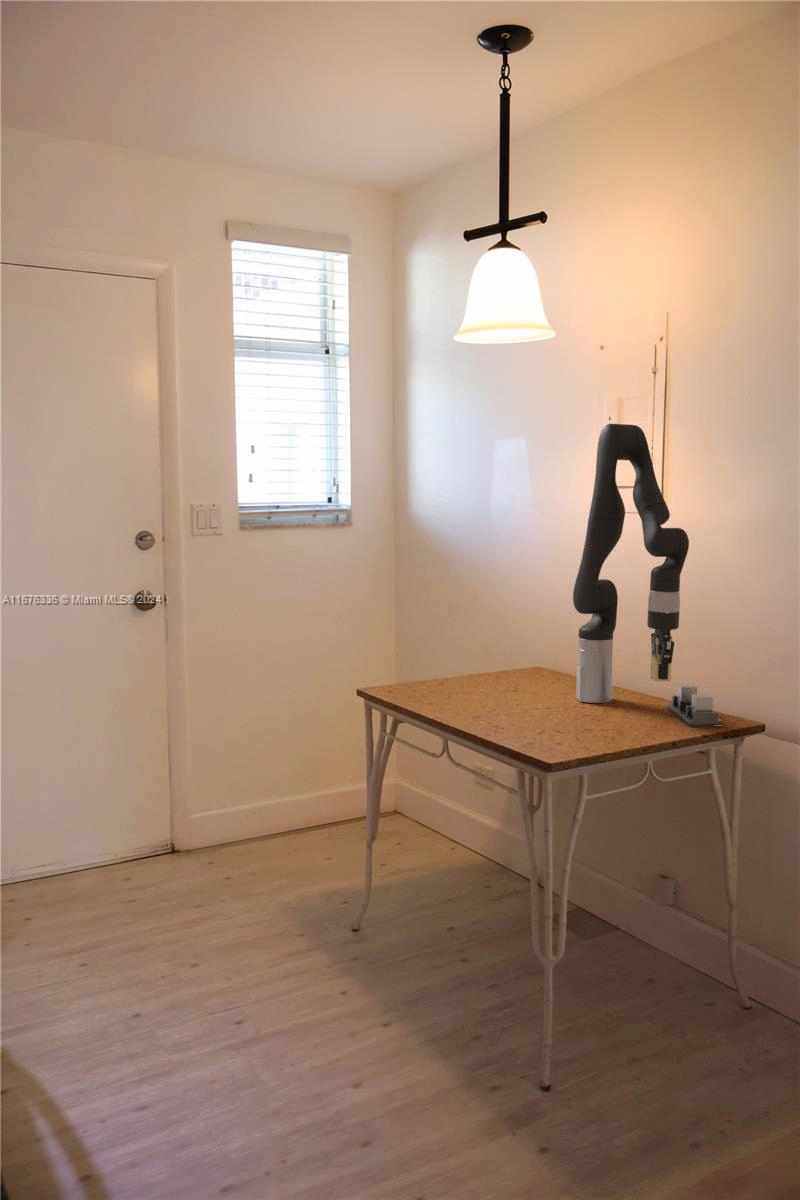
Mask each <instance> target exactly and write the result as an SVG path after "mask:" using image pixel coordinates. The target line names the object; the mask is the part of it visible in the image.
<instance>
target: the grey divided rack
mask: <svg viewBox="0 0 800 1200" xmlns="http://www.w3.org/2000/svg"><path fill="white" fill-rule="evenodd" d="M676 691H677V695H674V694H673V695H672V696H671V698H672V699H671V702H667V705H666V707H667V708H666V709H667V710H669V711H670V712H671V713H673V715H675V716H676V718H678V719H679V720H681V721H682V722H683V723H684V724H685V723H686V724H685V725H687V726H688V727H689V728H694V727H693V726H714V725H724V721H723V719H722V718H720V717H719V712H718V711H713V707H714V705H713V704H714V702H713V701H714V698H713V696H711V695H709V694H706V693H705V694H704V693H702V694H700V693H699V694H698V686H696V685H695V684H694V683H693V684H692V683H691V684H684V683H683V684H682V683H681V684H680V683H679V684H677V690H676ZM690 726H692V727H690Z"/></svg>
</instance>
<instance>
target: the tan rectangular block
mask: <svg viewBox="0 0 800 1200" xmlns="http://www.w3.org/2000/svg"><path fill="white" fill-rule="evenodd" d="M650 658H651V659H650V679H651V680H652V681H654V682H671V677H672V675H671V673H672V663H670V664H669V665H668V679H666V680H660V679H659V678H658V670H659V663H658V661H659V656H658V655H657V654H652V653H651V657H650ZM664 658H667V656H666V655H665V656H664Z"/></svg>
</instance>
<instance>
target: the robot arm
mask: <svg viewBox="0 0 800 1200" xmlns="http://www.w3.org/2000/svg"><path fill="white" fill-rule="evenodd" d="M643 430H644V429H642V428H641V427H640V426H639V425H636V424H630V423H629V424H625V423H623V424H622V423H608V424H605V425H604V426H603V428H602V429H601V431H600V434H599V436H598V441H597V442H598V443H597V450H596V461H595V462H596V463H595V478H594V485H593V491H592V492H593V493H592V497H591V504H590V508H589V514H588V520H587V527H586V536H585V541H584V545H583V546H584V547H583V550H582V551H583V552H582V555H581V559H580V560H581V561H580V564H579V568H578V572H577V575H576V579H575V583H574V586H573V592H572V602H573V607H574V608H575V610H576V611H577V612H578V613H579V614H581V615H582V614H583V615H591V619H590V620H589V621H588V622H586V623H585V624H583V625H581V626H580V627H579V629H578V649H577V650H578V654H577V655H578V657H577V659H578V661H577V662H578V663H576V676H575V677H576V678H575V679H576V681H575V683H576V684H575V685H576V687H575V689H576V690H575V692H576V693H575V698H576V699H577V701H578V702H580V703H589V704H604V703H605V704H606V703H610V702H612V701H613V700H612V699H613V660H614V659H613V654H614V653H613V650H614V649H613V648H614V633H615V631H616V626H617V613H618V602H619V601H618V600H619V598H618V596H619V595H618V591H617V587H616V584H615V583H614V582H613V581H612V580H610V579H604V578H603V579H601V578H600V573H601V571H602V570H601V569H602V567H603V565H604V563H605V561H606V559H607V558H608V557H609V556H610V554H611V552H612V551H613V550H614V548H615V547H616V545H617V544H618V543H619V541H620V539H621V537H622V533H623V529H624V523H625V517H626V509H625V508H626V507H625V504H624V501H623V498H622V496H621V493H620V491H619V488H618V484H617V479H616V474H617V466H618V465H617V464H618V461H629V462H630V464H631V466H632V467H633V469H634V472H635V480H634V485H633V489H632V500H633V503H634V506H635V508H636V511H637V513H638V516H639V517H640V519H641V525H642V527H641V528H642V534H643V535H642V536H643V544H644V548H645V550H646V552H648V553H649V554H650V555H651V556H652V557H654V558H655V557H656V558H664V557H665V559H664V562H663V563H662V564H661V565H658V566H655V567H653V568H652V569H651V571H650V581H649V583H650V584H649V595H648V606H647V623H646V624H647V627H648V628H650V629H654V632H651V634H650V638H651V639H650V640H651V641H650V642H651V654H657V655H658V656H659V661H658V663H659V670H658V678H659V679H660V680H666V679H668V665H669V664H670V663H671V664H672V663H673V655H674V649H675V648H674V647H675V642H674V641H673V636H672V635H671V631H672V630H673V631H674V630H678V629H679V626H680V609H681V607H680V606H681V601H680V600H681V596H680V587H681V584H680V583H681V574H682V570H683V568H684V564H685V561H686V558H687V555H688V552H689V548H690V540H689V536H688V534H687V532H686V531H685V530H684V529H683V528H681V527H680V528H679V527H662V525H664V524H666V523H667V521H669V519H670V516H671V513H670V509H669V507H668V505H667V502H666V501H665V498H664V496H663V494H662V492H661V489H660V486H659V483H658V481H657V477H656V473H655V469H654V466H653V465H654V464H653V460H652V456H651V452H650V449H649V444H648V441H647V438H646V435H645V432H644V431H643ZM665 655H666V656H667V658H664V656H665Z"/></svg>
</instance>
